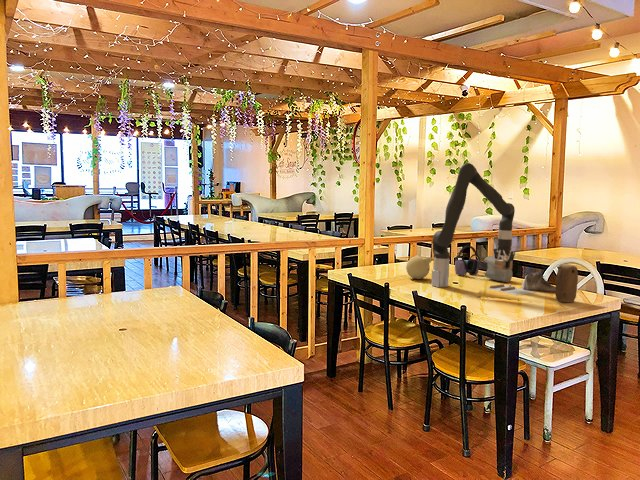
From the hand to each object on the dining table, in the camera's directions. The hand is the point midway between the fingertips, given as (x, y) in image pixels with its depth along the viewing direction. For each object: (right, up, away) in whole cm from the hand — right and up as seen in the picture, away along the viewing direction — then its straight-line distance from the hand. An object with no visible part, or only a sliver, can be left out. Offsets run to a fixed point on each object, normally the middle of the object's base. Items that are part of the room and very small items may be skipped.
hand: (503, 267), depth 301 cm
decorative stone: (+9, -11, +34) cm, 37 cm away
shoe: (+23, -15, -3) cm, 28 cm away
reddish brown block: (0, -1, 0) cm, 1 cm away
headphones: (-6, -8, +53) cm, 54 cm away
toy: (-43, -10, +36) cm, 57 cm away
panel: (+3, -14, -3) cm, 15 cm away
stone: (+25, -17, -24) cm, 38 cm away
